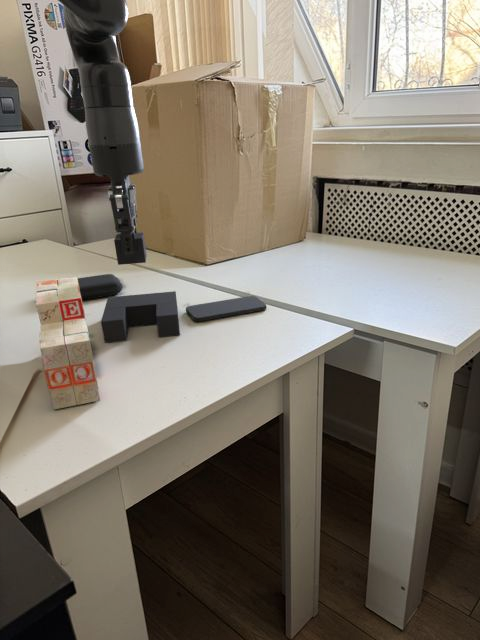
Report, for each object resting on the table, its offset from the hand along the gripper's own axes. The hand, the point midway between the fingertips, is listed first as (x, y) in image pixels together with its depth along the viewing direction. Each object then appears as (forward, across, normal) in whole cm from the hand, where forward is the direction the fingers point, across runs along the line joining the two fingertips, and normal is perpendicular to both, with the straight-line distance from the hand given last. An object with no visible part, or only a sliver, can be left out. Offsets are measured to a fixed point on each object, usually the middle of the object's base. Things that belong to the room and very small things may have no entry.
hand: (131, 252), depth 83 cm
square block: (+1, 0, 0) cm, 1 cm away
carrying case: (+15, -28, -14) cm, 35 cm away
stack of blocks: (+15, +12, -10) cm, 22 cm away
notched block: (+15, -6, 0) cm, 16 cm away
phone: (+15, -9, +16) cm, 24 cm away
